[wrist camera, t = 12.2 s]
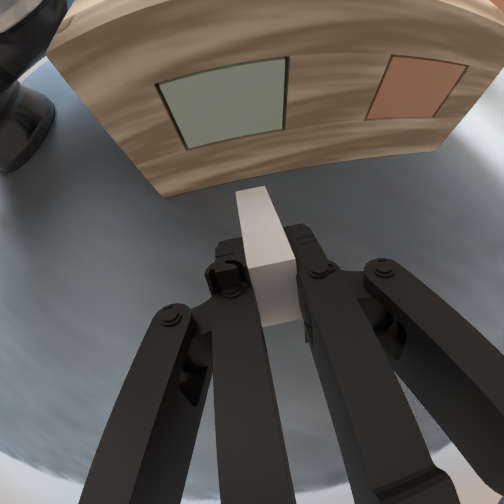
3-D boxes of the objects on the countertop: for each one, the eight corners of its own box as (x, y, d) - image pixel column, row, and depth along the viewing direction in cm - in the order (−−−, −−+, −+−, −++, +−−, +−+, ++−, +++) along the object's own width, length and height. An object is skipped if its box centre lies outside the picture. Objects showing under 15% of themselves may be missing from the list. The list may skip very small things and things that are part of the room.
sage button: (281, 128, 23) (285, 59, 15) (188, 148, 23) (159, 85, 15) (273, 103, 24) (273, 35, 16) (185, 122, 24) (159, 58, 16)
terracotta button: (431, 116, 23) (466, 66, 15) (366, 118, 23) (393, 56, 15) (419, 94, 23) (447, 43, 16) (354, 95, 24) (374, 33, 16)
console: (434, 151, 31) (525, 36, 9) (163, 198, 31) (45, 54, 9) (403, 93, 33) (458, -25, 11) (158, 128, 33) (81, -11, 12)
